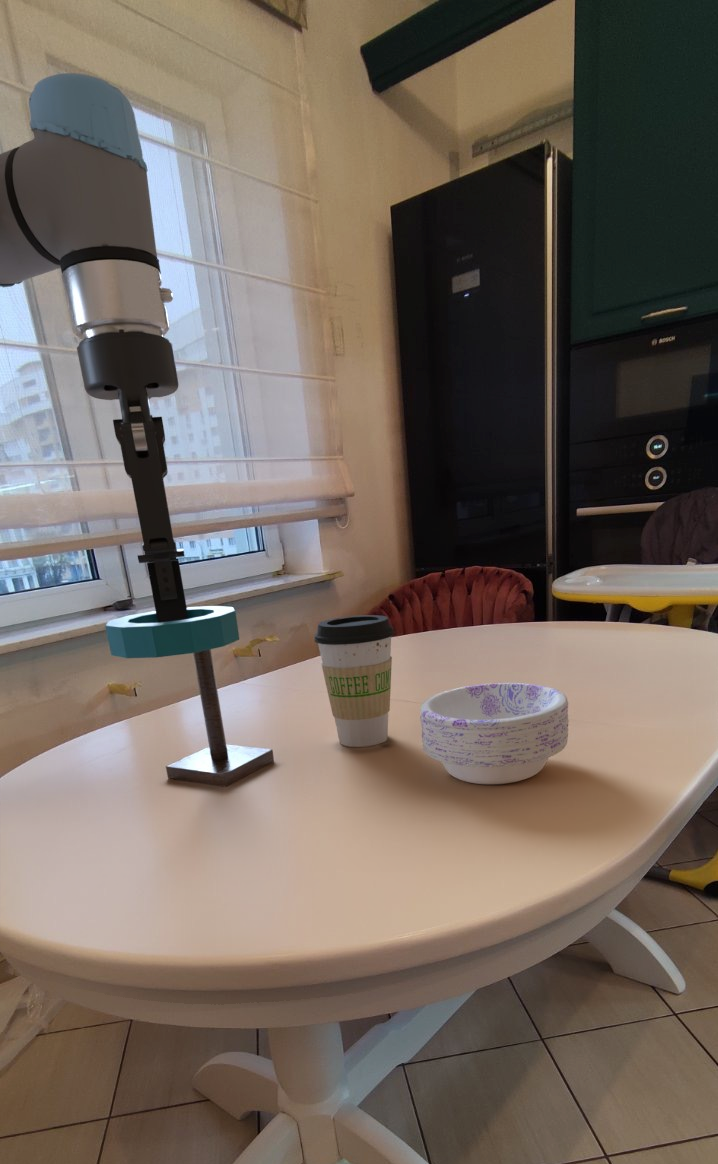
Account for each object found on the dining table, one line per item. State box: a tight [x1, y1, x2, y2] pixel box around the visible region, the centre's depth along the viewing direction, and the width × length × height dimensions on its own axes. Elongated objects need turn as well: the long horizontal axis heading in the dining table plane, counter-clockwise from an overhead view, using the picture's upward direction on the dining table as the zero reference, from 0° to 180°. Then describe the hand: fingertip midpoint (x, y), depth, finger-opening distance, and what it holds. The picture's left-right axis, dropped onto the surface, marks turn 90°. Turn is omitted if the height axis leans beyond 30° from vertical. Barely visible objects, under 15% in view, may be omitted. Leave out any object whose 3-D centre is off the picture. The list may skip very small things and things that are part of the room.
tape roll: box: [104, 605, 240, 659], centre depth 63 cm, size 11×11×2 cm
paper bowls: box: [419, 682, 569, 785], centre depth 77 cm, size 15×15×8 cm
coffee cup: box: [313, 614, 396, 748], centre depth 90 cm, size 10×10×15 cm
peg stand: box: [165, 649, 275, 787], centre depth 84 cm, size 9×9×16 cm
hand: (175, 633), depth 67 cm, fingers closed on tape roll, 2 cm apart
